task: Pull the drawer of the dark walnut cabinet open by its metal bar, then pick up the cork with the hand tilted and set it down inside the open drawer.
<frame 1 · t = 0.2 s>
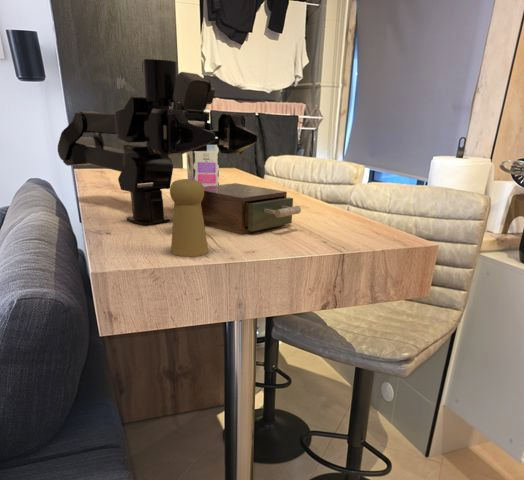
hand: (236, 137, 70), 17 cm above the counter, tool horizontal, fingers open, 9 cm apart
candy box: (203, 208, 108), on the counter
cork: (189, 252, 74), on the counter
cabinet: (238, 223, 94), on the counter
drawer: (255, 210, 89), point 3 cm above the counter, slide at 1.0 cm
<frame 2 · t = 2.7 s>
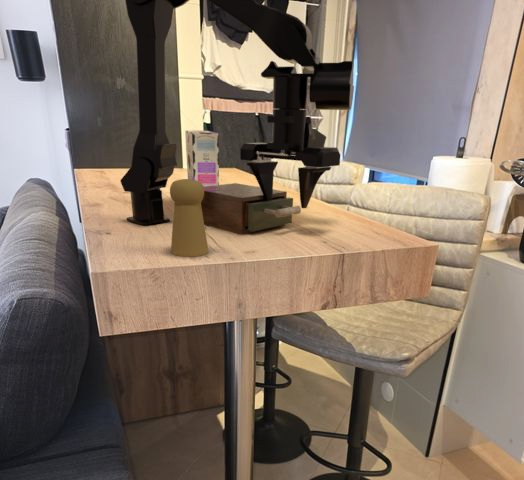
hand: (285, 205, 84), 5 cm above the counter, tool pointing down, fingers open, 8 cm apart
drawer: (255, 210, 89), point 3 cm above the counter, slide at 1.0 cm, touching gripper
everything else where it was.
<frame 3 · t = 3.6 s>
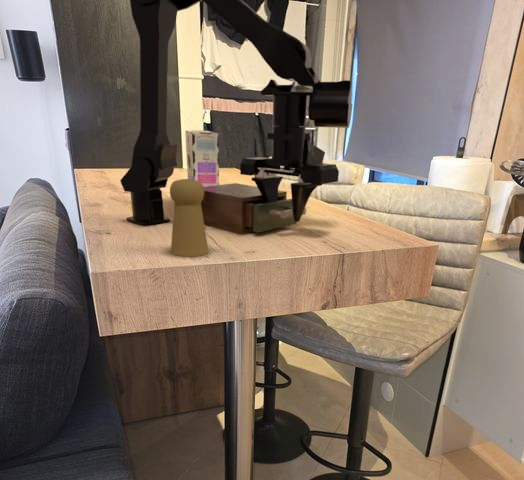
hand: (285, 219, 85), 3 cm above the counter, tool pointing down, fingers closed on drawer, 5 cm apart
drawer: (260, 211, 88), point 3 cm above the counter, slide at 2.3 cm, touching gripper
everything else where it was.
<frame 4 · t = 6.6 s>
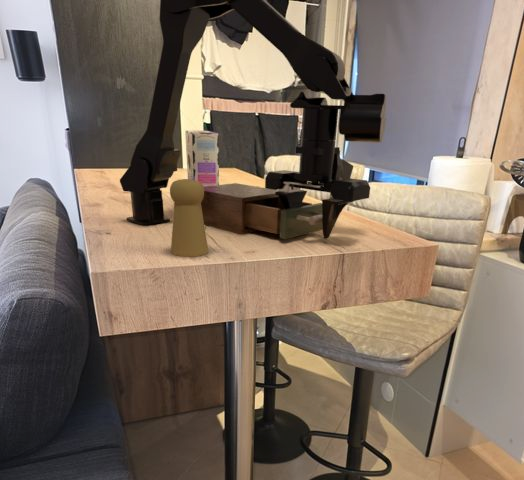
hand: (311, 235, 82), 1 cm above the counter, tool pointing down, fingers open, 6 cm apart
drawer: (286, 216, 85), point 3 cm above the counter, slide at 8.8 cm, touching gripper
everything else where it was.
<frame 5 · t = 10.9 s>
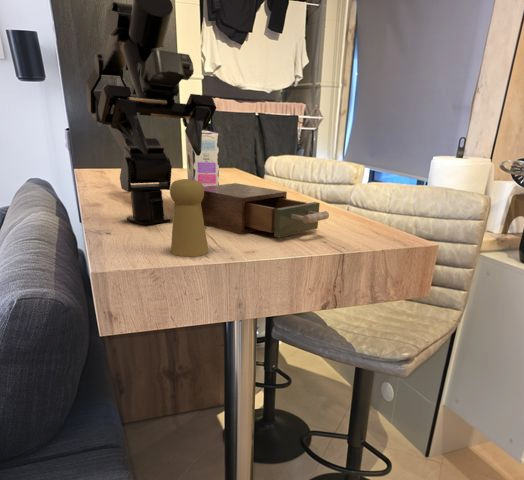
hand: (173, 153, 74), 14 cm above the counter, tool tilted 40°, fingers open, 9 cm apart
drawer: (280, 215, 85), point 3 cm above the counter, slide at 7.5 cm
everything else where it was.
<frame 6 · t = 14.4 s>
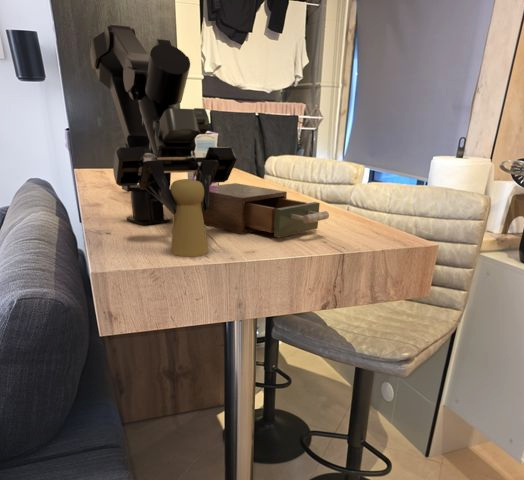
hand: (190, 211, 70), 7 cm above the counter, tool tilted 45°, fingers closed on cork, 5 cm apart
cork: (189, 252, 74), on the counter, touching gripper
everything else where it was.
when the fingers open (9 cm above the counter, at t = 21.6 s): cork stays where it is, resting on drawer.
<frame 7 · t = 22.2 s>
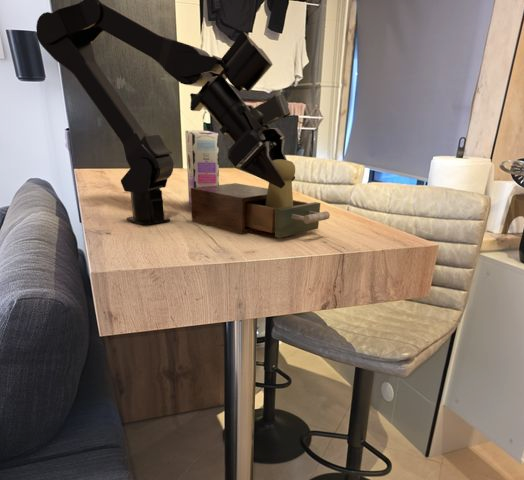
hand: (288, 183, 82), 9 cm above the counter, tool tilted 45°, fingers open, 9 cm apart
cork: (278, 223, 86), point 2 cm above the counter, touching drawer
drawer: (281, 215, 85), point 3 cm above the counter, slide at 7.6 cm, touching cork
everything else where it was.
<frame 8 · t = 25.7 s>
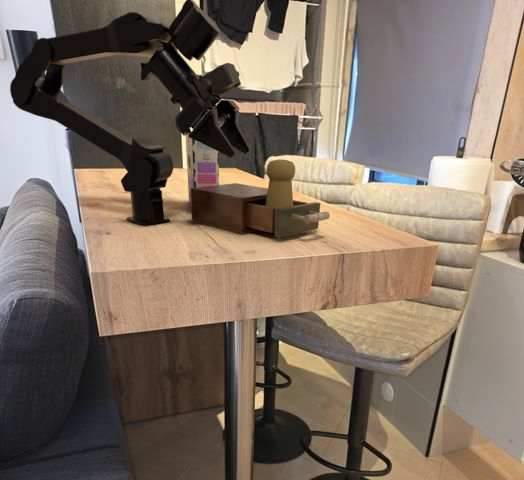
hand: (241, 154, 82), 14 cm above the counter, tool tilted 45°, fingers open, 9 cm apart
nothing on the counter moved.
at the end: drawer slide at 7.6 cm; cork inside the target area in the drawer (0.6 cm from its centre), point 1.8 cm above the cabinet's base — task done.
